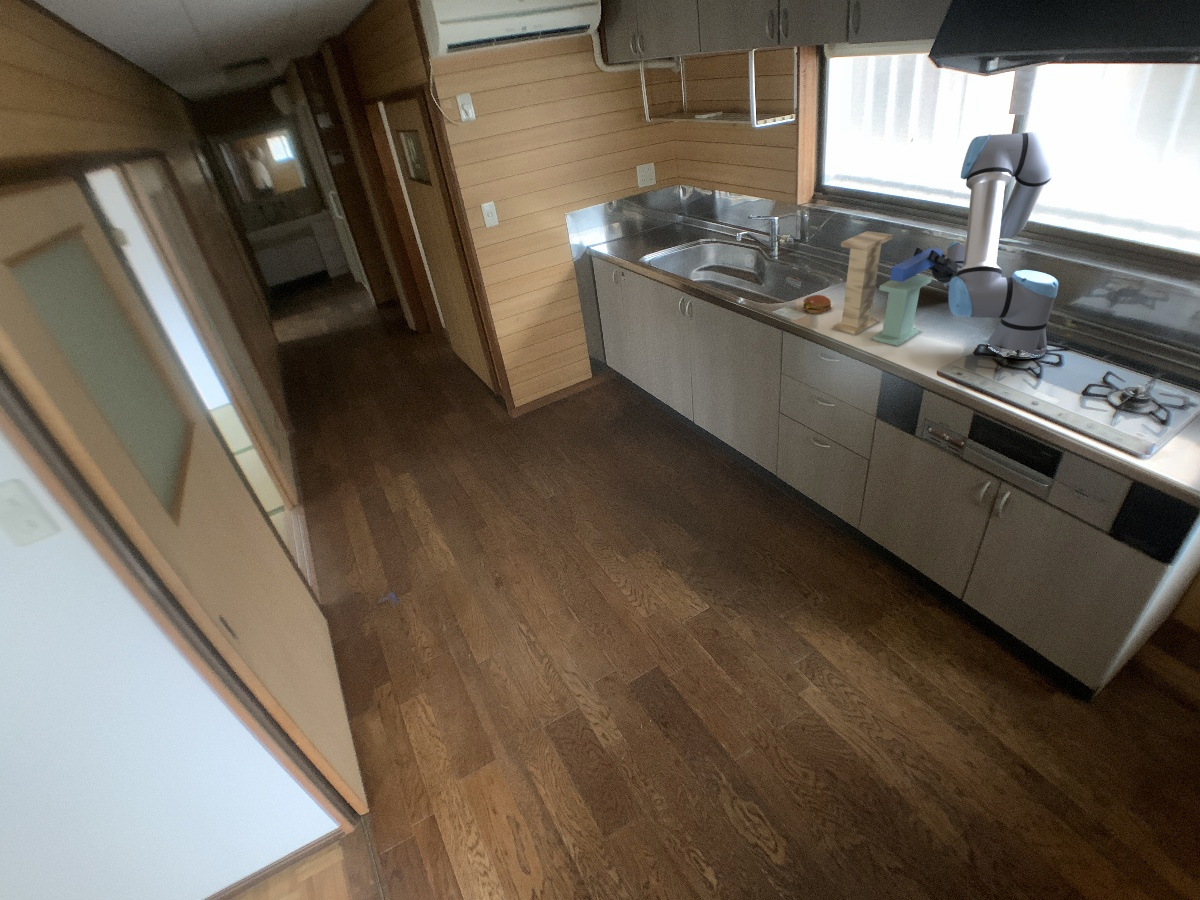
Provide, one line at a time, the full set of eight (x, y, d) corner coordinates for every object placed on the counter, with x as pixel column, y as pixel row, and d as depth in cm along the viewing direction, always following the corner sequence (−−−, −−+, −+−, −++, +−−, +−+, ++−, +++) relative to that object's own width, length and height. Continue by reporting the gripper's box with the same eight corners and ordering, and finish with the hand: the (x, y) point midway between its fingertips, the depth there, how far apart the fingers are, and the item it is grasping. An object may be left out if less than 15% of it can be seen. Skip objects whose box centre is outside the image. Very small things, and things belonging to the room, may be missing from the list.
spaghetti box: (927, 260, 201) (929, 248, 199) (939, 262, 198) (942, 249, 196) (889, 279, 190) (891, 267, 188) (902, 282, 187) (904, 269, 185)
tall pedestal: (855, 316, 220) (867, 231, 203) (879, 321, 214) (892, 234, 197) (831, 329, 212) (841, 242, 196) (854, 335, 206) (866, 246, 190)
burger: (832, 306, 230) (834, 294, 227) (827, 315, 223) (828, 302, 221) (806, 304, 234) (807, 292, 232) (799, 312, 228) (800, 300, 225)
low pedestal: (895, 325, 209) (904, 272, 199) (921, 332, 203) (932, 277, 193) (871, 340, 202) (879, 285, 192) (897, 346, 196) (907, 291, 186)
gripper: (968, 287, 204) (945, 269, 188) (918, 278, 216) (892, 260, 200) (978, 265, 202) (956, 245, 186) (927, 257, 214) (902, 237, 198)
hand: (923, 253), depth 193 cm, fingers closed on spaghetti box, 4 cm apart
